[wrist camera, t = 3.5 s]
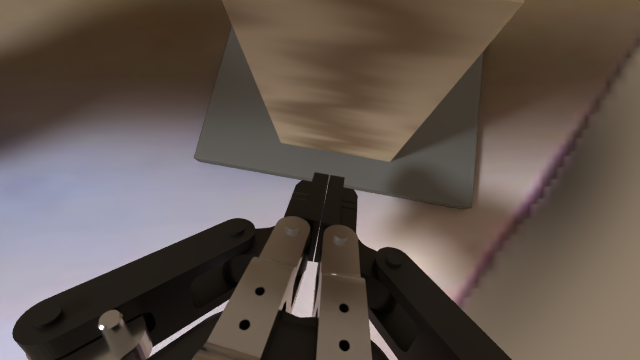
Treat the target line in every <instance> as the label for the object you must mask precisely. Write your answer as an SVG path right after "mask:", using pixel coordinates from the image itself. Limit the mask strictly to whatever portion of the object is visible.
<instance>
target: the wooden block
mask: <svg viewBox="0 0 640 360" xmlns="http://www.w3.org/2000/svg"><path fill="white" fill-rule="evenodd" d="M222 2H223V5H224V7H225V10H226V12H227V14H228V17H229V19H230V22H231V24H232V26H233V29H234V31H235V34H236V36H237V38H238V41H239V43H240V46H241V48H242V50H243V53H244V55H245V58H246V60H247V62H248V65H249V67H250V70H251V72H252V74H253V77H254V79H255V82H256V84H257V86H258V89H259V91H260V94H261V96H262V98H263V101H264V103H265V106H266V108H267V110H268V113H269V115H270V118H271V120H272V122H273V125H274V127H275V130H276V132H277V134H278V137H279V139H280V142H281V143H284V144H290V145H296V146H301V147H307V148H313V149H319V150H324V151H330V152H336V153H342V154H347V155H353V156H359V157H364V158H370V159H376V160H382V161H387V162H390V161H391V160H392V159H393V158H394V156H395V155H396V154H397V153H398V152H399V151H400V149H401V148H402V147H403V146H404V145H405V143H406V142H407V141H408V140H409V139H410V137H411V136H412V135H413V134H414V133H415V132H416V130H417V129H418V128H419V127H420V126H421V124H422V123H423V122H424V121H425V120H426V119H427V117H428V116H429V115H430V114H431V113H432V111H433V110H434V109H435V108H436V107H437V105H438V104H439V103H440V102H441V101H442V100H443V98H444V97H445V96H446V95H447V94H448V92H449V91H450V90H451V89H452V88H453V87H454V85H455V84H456V83H457V82H458V81H459V79H460V78H461V77H462V76H463V75H464V73H465V72H466V71H467V70H468V69H469V68H470V66H471V65H472V64H473V63H474V62H475V60H476V59H477V58H478V57H479V56H480V54H481V53H482V52H483V51H484V50H485V49H486V47H487V46H488V45H489V44H490V43H491V41H492V40H493V39H494V38H495V37H496V36H497V34H498V33H499V32H500V31H501V30H502V28H503V27H504V26H505V25H506V24H507V22H508V21H509V20H510V19H511V18H512V17H513V15H514V14H515V13H516V12H517V11H518V9H519V8H520V7H521V6H522V5H523V4H524V0H222Z"/></svg>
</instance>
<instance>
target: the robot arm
mask: <svg viewBox="0 0 640 360" xmlns="http://www.w3.org/2000/svg"><path fill="white" fill-rule="evenodd" d="M328 179H329V174H323V173H318V172H315V173H314V176H313V179H312V182H311V181H306V180H302V181H300V182H299V183H298V184H297V185H296V186H295V189H294V192H293V194H292V197H291V200H290V202H289V205H288V208H287V210H286V213H285V216H284V218H282V219H280V220H279V221H278V222H277V224H276V225H275V226H273V227H270V228H260V229H255V226H254V225H253V223H252V222H250V221H248V220H246V219H241V218H235V219H230V220H227V221H225V222H223V223H221V224H218V225H216V226H214V227H211V228H209V229H207V230H204V231H202V232H200V233H198V234H195V235H193V236H191V237H188V238H186V239H184V240H181V241H179V242H177V243H174V244H172V245H170V246H168V247H165V248H163V249H161V250H158V251H156V252H154V253H151V254H149V255H147V256H144V257H142V258H140V259H138V260H135V261H133V262H131V263H128V264H126V265H124V266H121V267H119V268H117V269H114V270H112V271H110V272H108V273H105V274H103V275H101V276H98V277H96V278H94V279H91V280H89V281H87V282H85V283H82V284H80V285H78V286H75V287H73V288H71V289H68V290H66V291H64V292H61V293H59V294H57V295H55V296H52V297H50V298H48V299H45V300H43V301H41V302H39V303H37V304H36V305H34V306H33V307H31V308H30V309H28V310H27V311H26V312H25V313H24V314H23V315H22V316H21V317H20V318H19V319H18V321H17V322H16V324H15V326H14V328H13V333H12V334H13V338H14V340H15V341H16V342H17V344H18V345H19V346H20V347H21V348H22V349H23V350H24V352H25V353H26V356H27V358H28V359H29V360H389V359H388V358H387V356H386V355H385V354H384V352H383V351H382V350H381V349H380V348H379V347H378V346H377V345H376V344H375V343H374V342H373V341H372V340H370V329H369V319H370V321H371V322H372V324H373V325H374V326H375V328H376V329H377V331H378V332H379V333H380V335H381V336H382V338H383V339H384V340H385V342H386V343H387V345H388V346H389V347H390V349H391V350H392V352H393V353H394V354H395V356H396V357H397V359H398V360H512V359H511V358H509V356H507V354H506V353H505V352H504V351H503V350H501V348H500V347H499V346H497V344H496V343H495V342H493V340H492V339H490V337H489V336H487V335H486V333H485V332H483V331H482V329H481V328H480V327H478V326H477V324H476V323H475V322H474V321H473V320H472V319H471V318H470V317H469V316H468V315H467V314H466V313H465V312H464V311H463V310H462V309H460V308H459V307H458V306H457V305H456V304H455V303H454V302H453V301H452V300H451V299H450V298H449V297H448V296H447V295H446V294H445V293H444V292H443V291H442V290H441V289H440V288H439V287H438V286H437V285H436V284H435V283H434V282H433V281H432V280H431V279H430V278H429V277H428V276H427V275H426V274H425V273H424V272H423V271H422V270H421V269H420V268H419V267H418V266H417V265H416V264H415V263H414V262H413V261H412V260H411V259H410V258H409V257H408V256H407V255H406V254H405V253H404V252H402V251H401V250H399V249H396V248H392V247H385V248H382V249H380V250H378V252H377V251H375V250H373V249H371V248H369V247H367V246H365V245H364V244H363V243H361V241H360V240H359V239H358V237H357V234H356V221H357V198H358V196H357V194H356V192H355V191H354V189H350V188H345V187H344V180H345V177H340V176H335V175H330V179H329V184H328ZM327 184H328V189H327ZM326 190H327V194H326ZM325 196H326V199H325ZM324 202H325V203H324ZM319 227H320V229H319ZM318 232H319V235H318ZM317 237H318V241H317ZM316 242H317V247H316ZM315 247H316V253H315V259H314V262H318V267H317V273H316V279H315V290H314V301H313V312H312V317H305V318H300V317H296V316H294V315H292V314H291V313H292V310H293V307H294V304H295V300H296V297H297V294H298V291H299V288H300V285H301V282H302V279H303V275H304V271H305V270H306V266H307V262H308V261H312V262H313V257H314V252H315ZM229 299H230V300H229ZM227 300H229V302H228V303H227V305H226V307H225V309H224V311H221V312H219V313H216V314H214V315H212V316H210V317H208V318H207V319H205V320H204V321H202V322H201V323H199V324H198V325H196V326H195V327H193V328H192V329H190V330H189V331H187V332H186V333H184V334H183V335H181V336H180V337H179V338H177V339H176V340H174V341H173V342H171V343H170V344H168V345H167V346H165V347H164V348H162V349H161V350H159V351H158V352H156V353H155V354H153V355H152V356H150V353H151V351H152V347H154V346H155V345H157V344H158V343H160V342H162V341H163V340H165V339H166V338H168V337H170V336H171V335H173V334H174V333H176V332H178V331H179V330H181V329H182V328H184V327H186V326H187V325H189V324H190V323H192V322H194V321H195V320H197V319H198V318H200V317H202V316H203V315H205V314H206V313H208V312H210V311H211V310H213V309H214V308H216V307H218V306H219V305H221V304H222V303H224V302H226V301H227ZM149 356H150V357H149ZM148 357H149V358H148Z"/></svg>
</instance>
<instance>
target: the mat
mask: <svg viewBox="0 0 640 360" xmlns="http://www.w3.org/2000/svg"><path fill="white" fill-rule="evenodd" d="M482 63H483V52H482V53H481V54H480V56H479V57H478V58H477V59H476V60H475V62H474V63H473V64H472V65H471V66H470V68H469V69H468V70H467V71H466V72H465V73H464V75H463V76H462V77H461V78H460V79H459V81H458V82H457V83H456V84H455V85H454V87H453V88H452V89H451V90H450V91H449V92H448V94H447V95H446V96H445V97H444V98H443V100H442V101H441V102H440V103H439V104H438V105H437V107H436V108H435V109H434V110H433V111H432V113H431V114H430V115H429V116H428V117H427V119H426V120H425V121H424V122H423V123H422V124H421V126H420V127H419V128H418V129H417V130H416V132H415V133H414V134H413V135H412V136H411V137H410V139H409V140H408V141H407V142H406V143H405V145H404V146H403V147H402V148H401V149H400V151H399V152H398V153H397V154H396V155H395V156H394V158H393V159H392V160H391V161H390V162H387V161H382V160H376V159H370V158H364V157H359V156H353V155H347V154H342V153H336V152H330V151H324V150H319V149H313V148H307V147H301V146H296V145H290V144H284V143H281V142H280V139H279V137H278V134H277V132H276V130H275V127H274V125H273V122H272V120H271V118H270V115H269V113H268V110H267V108H266V106H265V103H264V101H263V98H262V96H261V94H260V91H259V89H258V86H257V84H256V82H255V79H254V77H253V74H252V72H251V70H250V67H249V65H248V62H247V60H246V58H245V55H244V53H243V50H242V48H241V46H240V43H239V41H238V38H237V36H236V34H235V31H234V29H233V26H232V27H231V30H230V34H229V37H228V41H227V44H226V48H225V51H224V55H223V58H222V62H221V65H220V68H219V72H218V75H217V79H216V82H215V86H214V89H213V93H212V96H211V100H210V103H209V107H208V110H207V113H206V117H205V120H204V124H203V127H202V131H201V134H200V138H199V141H198V145H197V148H196V152H195V155H194V158H195V159H196V160H198V161H199V162H204V163H210V164H215V165H221V166H226V167H232V168H238V169H243V170H249V171H254V172H260V173H265V174H271V175H276V176H282V177H288V178H293V179H299V180H306V181H311V182H312V179H313V176H314V173H315V172H318V173H323V174H329V179H330V175H335V176H340V177H345V180H344V187H345V188H350V189H354V190H360V191H365V192H371V193H377V194H382V195H388V196H393V197H399V198H404V199H410V200H415V201H421V202H427V203H432V204H438V205H443V206H449V207H454V208H460V209H469V208H472V198H473V185H474V171H475V158H476V144H477V131H478V117H479V104H480V90H481V77H482ZM329 179H328V184H329ZM328 184H327V185H328Z"/></svg>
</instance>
